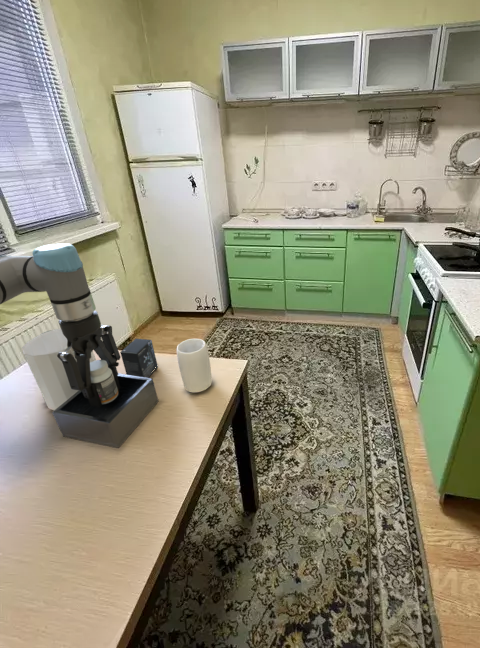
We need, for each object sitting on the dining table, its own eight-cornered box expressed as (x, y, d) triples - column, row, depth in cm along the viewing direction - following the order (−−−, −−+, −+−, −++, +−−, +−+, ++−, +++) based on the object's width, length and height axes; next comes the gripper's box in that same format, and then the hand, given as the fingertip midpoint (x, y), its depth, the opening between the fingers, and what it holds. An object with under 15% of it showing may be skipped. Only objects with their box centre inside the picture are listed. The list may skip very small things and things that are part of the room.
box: (144, 382, 97) (136, 353, 92) (128, 381, 98) (119, 351, 93) (158, 367, 104) (151, 339, 99) (143, 365, 105) (135, 337, 100)
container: (113, 388, 95) (95, 335, 88) (60, 419, 85) (35, 362, 77) (88, 372, 103) (70, 322, 95) (37, 398, 92) (12, 345, 84)
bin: (63, 437, 79) (51, 412, 76) (110, 393, 93) (102, 371, 90) (118, 448, 76) (109, 423, 72) (158, 401, 89) (152, 378, 86)
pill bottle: (88, 402, 80) (76, 369, 76) (107, 388, 85) (97, 356, 80) (105, 407, 78) (93, 374, 74) (124, 392, 83) (114, 360, 79)
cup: (217, 378, 98) (211, 338, 92) (206, 397, 90) (199, 355, 84) (191, 376, 99) (183, 336, 93) (178, 394, 92) (169, 353, 86)
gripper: (54, 338, 62) (89, 427, 72) (121, 298, 79) (142, 375, 89) (23, 334, 64) (62, 421, 74) (95, 296, 80) (119, 372, 90)
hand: (106, 396), depth 81 cm, fingers closed on pill bottle, 6 cm apart
